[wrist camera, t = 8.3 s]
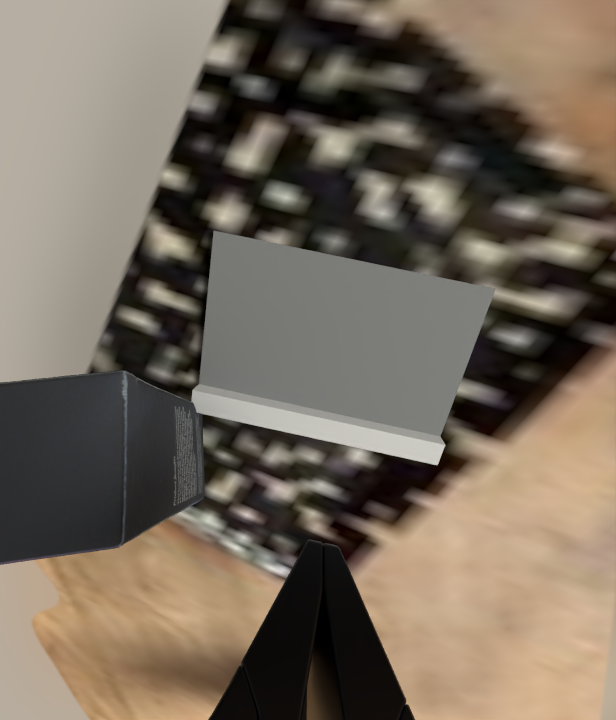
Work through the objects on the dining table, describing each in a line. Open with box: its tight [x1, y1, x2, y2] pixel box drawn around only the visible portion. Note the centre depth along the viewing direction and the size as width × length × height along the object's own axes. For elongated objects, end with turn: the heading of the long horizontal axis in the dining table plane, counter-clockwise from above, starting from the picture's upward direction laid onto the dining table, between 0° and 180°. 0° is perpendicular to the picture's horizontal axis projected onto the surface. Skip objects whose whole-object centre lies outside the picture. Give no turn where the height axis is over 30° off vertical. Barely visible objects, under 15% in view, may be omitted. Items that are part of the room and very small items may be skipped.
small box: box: [0, 370, 204, 565], centre depth 16 cm, size 11×6×10 cm
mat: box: [191, 231, 495, 465], centre depth 19 cm, size 11×16×2 cm
